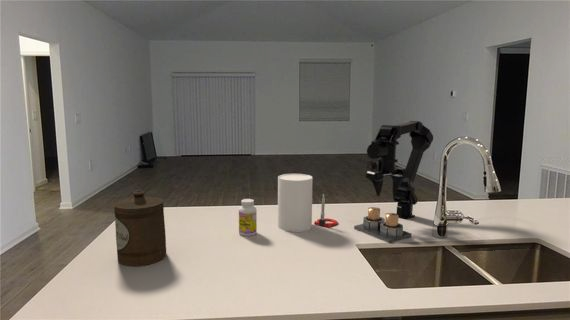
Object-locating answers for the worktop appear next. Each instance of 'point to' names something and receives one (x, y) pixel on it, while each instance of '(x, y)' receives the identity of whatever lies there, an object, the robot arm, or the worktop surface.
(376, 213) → the brass peg
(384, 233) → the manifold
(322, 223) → the tow hook
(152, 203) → the wooden container
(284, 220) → the canister
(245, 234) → the supplement bottle
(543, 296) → the worktop surface
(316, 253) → the worktop surface
